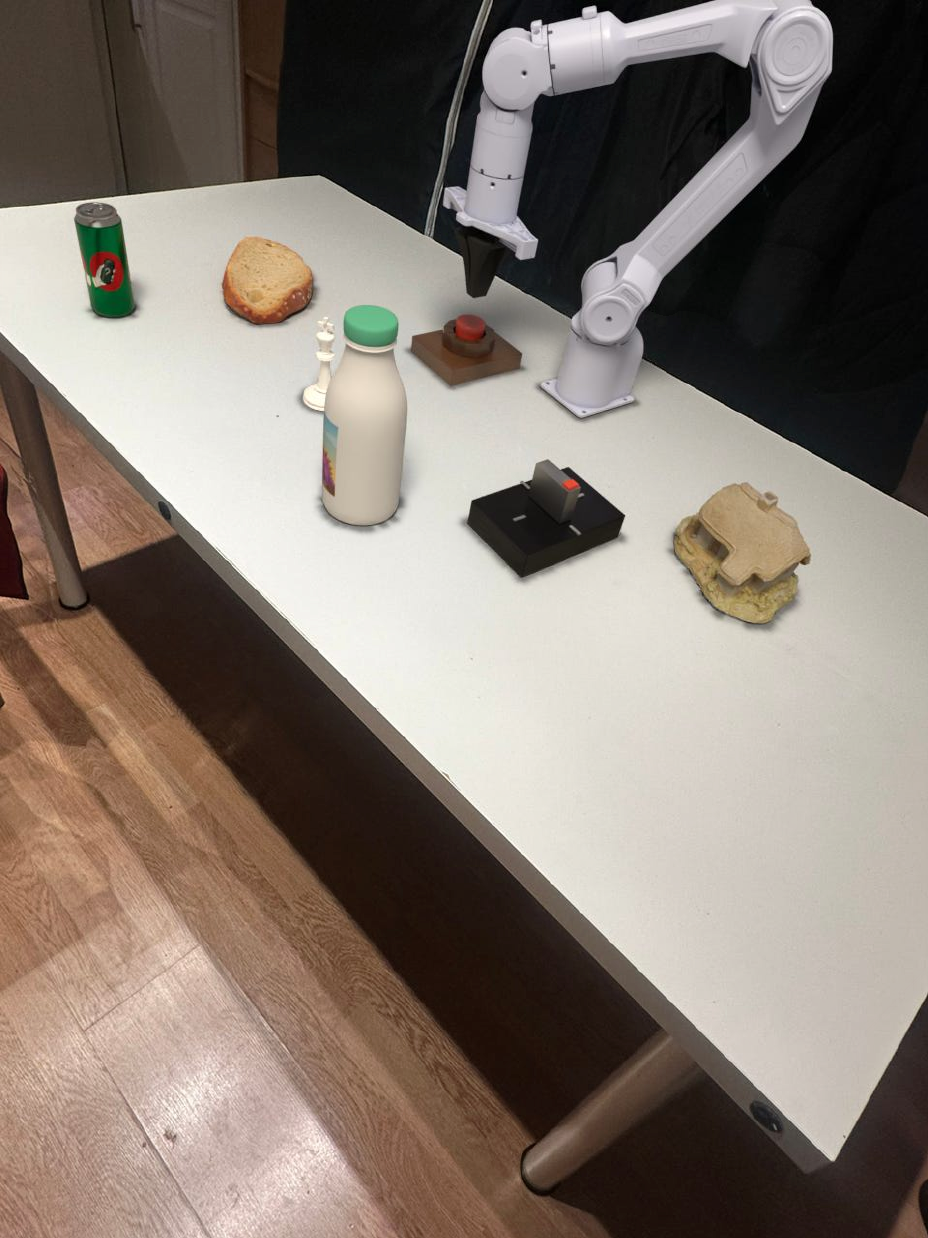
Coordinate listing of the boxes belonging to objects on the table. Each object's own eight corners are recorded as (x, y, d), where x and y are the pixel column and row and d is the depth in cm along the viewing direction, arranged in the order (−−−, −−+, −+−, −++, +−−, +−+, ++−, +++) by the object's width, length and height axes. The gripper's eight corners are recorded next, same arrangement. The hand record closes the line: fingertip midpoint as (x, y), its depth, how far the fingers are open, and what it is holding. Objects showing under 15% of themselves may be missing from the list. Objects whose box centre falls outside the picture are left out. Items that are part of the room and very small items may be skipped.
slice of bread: (262, 245, 120) (261, 219, 118) (355, 291, 115) (356, 264, 112) (163, 279, 109) (159, 251, 107) (261, 331, 103) (259, 303, 101)
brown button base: (478, 336, 111) (483, 307, 108) (519, 368, 106) (525, 340, 103) (410, 351, 105) (413, 322, 102) (450, 386, 101) (454, 356, 98)
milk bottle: (409, 493, 85) (430, 310, 71) (380, 537, 80) (396, 348, 66) (341, 471, 86) (348, 285, 72) (308, 512, 81) (308, 321, 67)
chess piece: (338, 415, 93) (341, 333, 86) (296, 405, 93) (296, 322, 86) (351, 393, 97) (355, 312, 89) (311, 384, 97) (311, 302, 90)
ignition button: (472, 325, 105) (474, 312, 104) (489, 338, 103) (491, 325, 102) (449, 330, 103) (451, 316, 102) (466, 343, 101) (468, 330, 100)
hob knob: (527, 495, 83) (536, 460, 80) (539, 491, 84) (548, 456, 81) (559, 524, 80) (569, 489, 77) (571, 519, 81) (581, 485, 78)
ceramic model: (817, 601, 82) (866, 524, 75) (741, 636, 77) (785, 557, 70) (720, 517, 90) (756, 440, 83) (644, 544, 85) (676, 464, 78)
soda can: (144, 310, 103) (129, 211, 95) (111, 323, 100) (93, 222, 91) (115, 296, 105) (98, 197, 96) (82, 308, 101) (62, 207, 93)
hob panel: (561, 488, 90) (568, 464, 87) (618, 538, 85) (627, 514, 83) (466, 522, 83) (470, 498, 81) (522, 578, 79) (528, 554, 76)
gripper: (427, 146, 88) (413, 271, 97) (509, 199, 80) (486, 329, 90) (479, 142, 91) (461, 263, 101) (563, 193, 84) (535, 319, 94)
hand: (476, 294), depth 96 cm, fingers closed
